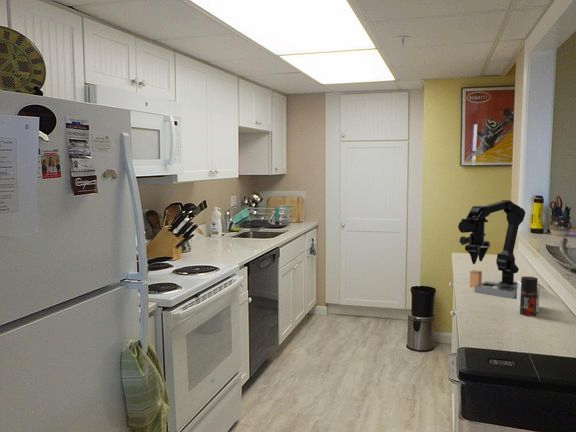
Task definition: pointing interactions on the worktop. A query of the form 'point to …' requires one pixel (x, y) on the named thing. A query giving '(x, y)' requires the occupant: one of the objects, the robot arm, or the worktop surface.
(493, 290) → the socket plate
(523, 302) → the deodorant
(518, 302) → the light bulb box
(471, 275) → the orange rectangular block
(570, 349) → the worktop surface
